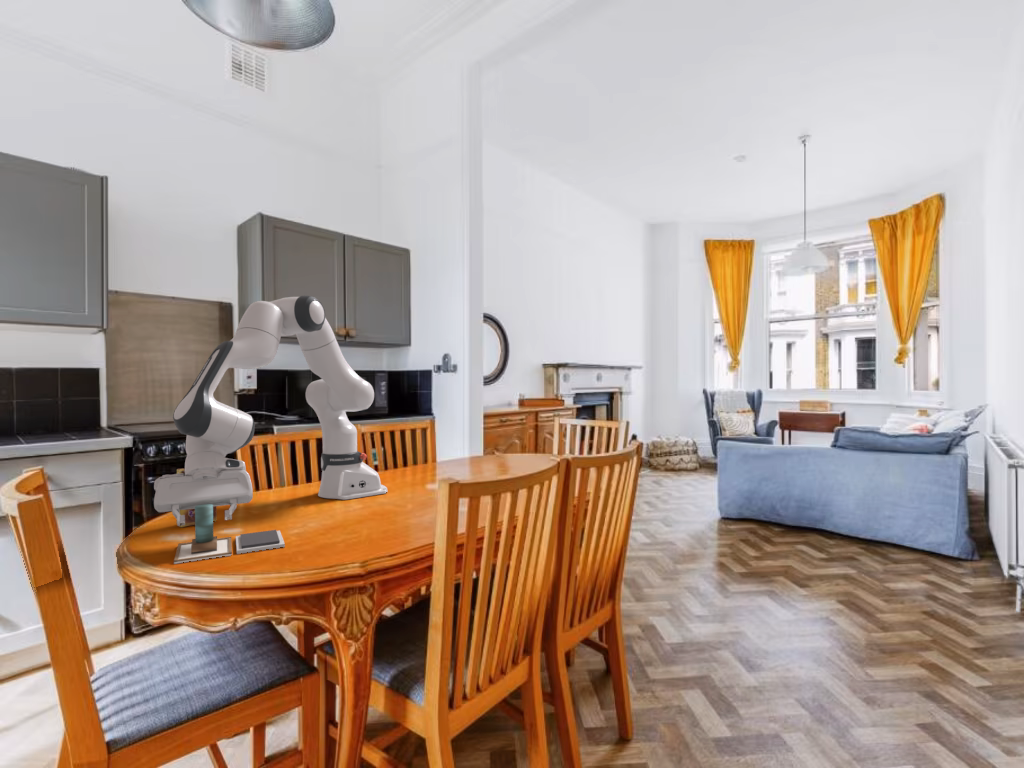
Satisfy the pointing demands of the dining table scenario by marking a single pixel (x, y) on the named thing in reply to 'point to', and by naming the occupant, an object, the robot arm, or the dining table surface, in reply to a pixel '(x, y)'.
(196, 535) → the stamp
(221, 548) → the outline mat
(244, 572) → the dining table surface
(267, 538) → the ink pad
